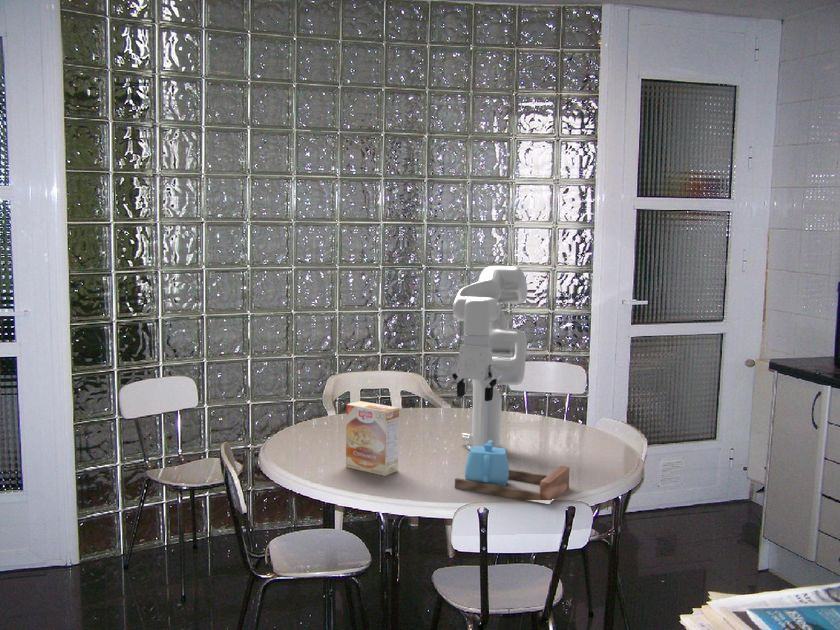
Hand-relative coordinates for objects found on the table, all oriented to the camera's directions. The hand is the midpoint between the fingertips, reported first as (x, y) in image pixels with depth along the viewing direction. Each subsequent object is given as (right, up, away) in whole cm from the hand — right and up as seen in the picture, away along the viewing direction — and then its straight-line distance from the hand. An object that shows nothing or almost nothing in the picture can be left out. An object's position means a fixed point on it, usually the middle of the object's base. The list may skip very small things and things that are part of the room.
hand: (474, 398), depth 234 cm
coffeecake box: (-31, -22, +4) cm, 38 cm away
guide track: (+10, -24, -10) cm, 28 cm away
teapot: (+3, -24, -7) cm, 25 cm away
